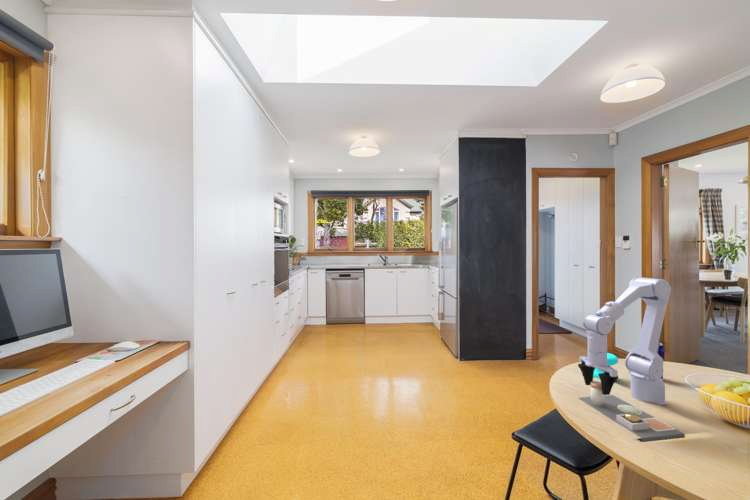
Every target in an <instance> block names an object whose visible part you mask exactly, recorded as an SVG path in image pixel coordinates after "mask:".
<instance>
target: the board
mask: <svg viewBox="0 0 750 500" xmlns="http://www.w3.org/2000/svg"><path fill="white" fill-rule="evenodd" d="M578 399H579V400H580V401H581V402H583V403H585V404H586V405H588V406H590V407H592V408H593V409H594V410H596V411H598V413H601V414H602V415H604V416H605V417H607V418H609V419H611V420H612V421H613V422H615V423H616V424H618V425H621V427H623V428H624V429H627V430H628V431H629V432H631V433H633V434H635V435H636V436H637V440H638V441H639V442H641V443H644V442H645V443H646V442H656V441H665V440H674V439H675V440H677V439H685V438H686V437H685V436H686V435H685V432H682V431H681V430H679V429H677V428H675V427H673V426H671V425H669V424H667V423H666V422H664V421H663V420H661V419H659V418H657V417H654V416H653V415H651V414H649V413H647V412H645V411H643V410H641V409H640V408H637V407H636V406H634V405H632V404H630V403H628V402H627V401H625V400H622V399H621V398H619V397H617V396H616V395H614V394H610V395H604V406H595V405H593V404H591V396H585V397H584V396H583V397H578ZM625 412H632V413H635V414H638V415H639V416H640V423H631V422H629V421H628V420H626V419H625ZM638 437H640V438H638Z"/></svg>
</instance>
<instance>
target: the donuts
mask: <svg viewBox="0 0 750 500" xmlns="http://www.w3.org/2000/svg"><path fill="white" fill-rule="evenodd" d="M618 363H619V358H618V357H617V356H616V355H615V354H613V353H609V352H607V364H608V365H609V366H614V365H617V364H618ZM601 373H604V372H603V371H601V370H598V369H596V368H595V370H594V374H593V379H600V377H599V375H598V374H601ZM618 379H619V378H618ZM618 379H617V380H618ZM617 380H616V381H617ZM616 381H615V382H616Z"/></svg>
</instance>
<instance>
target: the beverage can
mask: <svg viewBox="0 0 750 500" xmlns="http://www.w3.org/2000/svg"><path fill="white" fill-rule="evenodd" d="M656 352H657V353H658V354H659V356H660V357H661V358H662V359H663V360H664V344H663V343H661V342H658V346H657V350H656ZM646 358H647V357H646ZM647 359H649V358H647ZM660 378H661V379H662V380H663V379H664V374H663V375H662V376H661V377H660Z"/></svg>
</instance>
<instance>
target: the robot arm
mask: <svg viewBox="0 0 750 500" xmlns="http://www.w3.org/2000/svg"><path fill="white" fill-rule="evenodd" d="M671 293H672V287H671V285H670V283H669V282H668V280H666V279H664V278H659V279H658V278H653V277H652V278H650V277H642V276H635V277H634V278H632V279H631V280H630V281H629V282H628V287H627V288H626V290H624V292H623V293H622V294H621V295H620V296H618V298H617V299H616V300H615V301H613V300H612V301H607V302H605V303H604V305H603V306H602V307H601V308H600V309H599V310H596V312H595V313H594V314H589V315H587V316H586V317H585V318H584V320H583V322H582V325H583V328H584V330H585V334H586V335H587V346H586V347H587V356H585V355H580V356H579V357H578V360H579V362H580V363H578V364H577V367H578V368H579V369H580V372H581V375H582V376H583V380H584V384H585V385H586V386H591V382H592V381H594V378H593V374H594V370H595V368H596V369H598V370H601V371H603V372H604V373H601V374H598V375H599V377H600V382H601V384H602V393H603V395H604V396H606V395H611V391H612V389H613V386H614V384H615V382H616V380H617V379H619V375H618V373H619V372H618V370H617V369H615V368H614V367H612V365H608V364H607V353H608V334H609V333H611V332H612V330H613V327H614V324H615V322H617V321H618V320H619V319H620V318H621V317H622V316H624V315H625V309H626V308H627V307H629V306H630V305H631V304H633V303H634V302H636V301H637V300H638V299H641V300H642V301H644V303H645V304H646V305H645V306H646V307H645V312H644V316H643V320H642V325H641V329H640V332H639V337H638V341H637V346H635V347H633V348H631V349H629V351H628V354H627V356H626V357H625V359H624V366H625V368H626V369H627V370H628V373H629V374H630V396H631V397H632V398H633V399H635V400H637V401H641V402H645V403H655V404H657V405H659V406H663V405H664V406H665V405H668V402H667V401H666V384H665V382H664V380H663V379H661V378H660V377H661V376H662V375H663V376H664V358H663V359H662V358H661V357H660V356H659V354H658V353H657V352H656V350H657V346H658V342H659V341H660V338H661V332H662V328H663V325H664V324H663V323H664V319H665V315H666V311H667V306H668V304H669V301H670V295H671ZM659 343H660V342H659ZM647 358H649V359H647Z"/></svg>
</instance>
